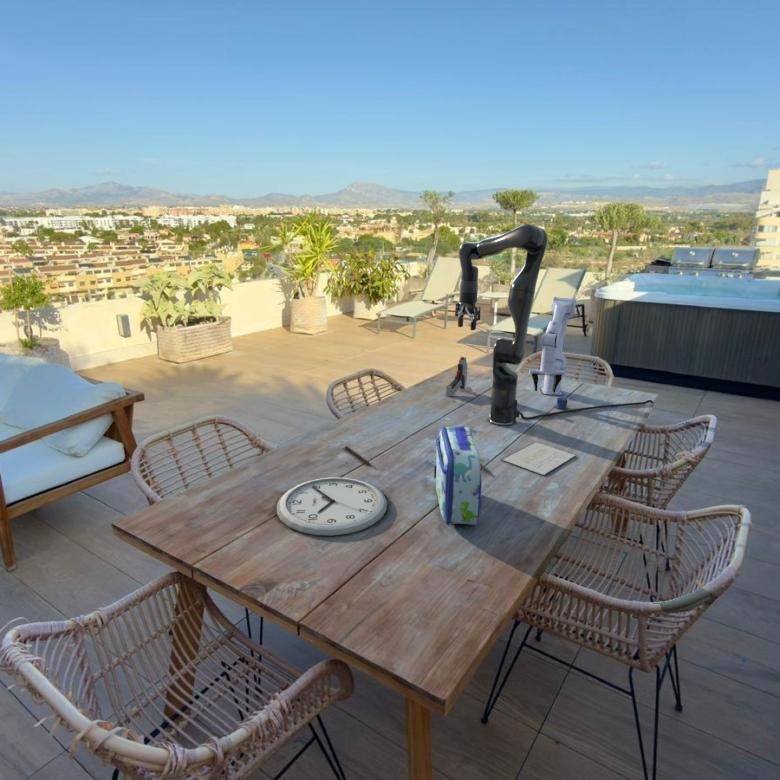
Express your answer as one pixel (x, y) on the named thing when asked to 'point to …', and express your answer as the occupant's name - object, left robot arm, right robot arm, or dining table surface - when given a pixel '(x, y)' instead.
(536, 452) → the invitation card
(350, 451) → the thin brown stick
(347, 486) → the wall clock
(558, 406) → the can
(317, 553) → the dining table surface
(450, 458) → the lunch box
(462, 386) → the toy gun
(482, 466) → the fork
